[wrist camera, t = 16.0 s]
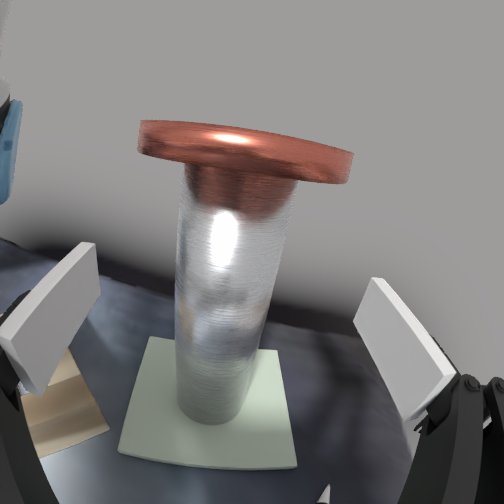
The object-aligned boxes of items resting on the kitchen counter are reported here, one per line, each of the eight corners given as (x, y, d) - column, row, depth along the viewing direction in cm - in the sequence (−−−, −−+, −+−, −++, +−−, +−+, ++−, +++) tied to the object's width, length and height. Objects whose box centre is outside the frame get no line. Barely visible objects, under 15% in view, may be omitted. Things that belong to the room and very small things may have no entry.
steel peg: (129, 385, 18) (110, 120, 10) (214, 342, 24) (244, 130, 16) (206, 471, 13) (258, 129, 5) (290, 402, 19) (379, 161, 11)
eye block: (-32, 362, 12) (-50, 330, 10) (59, 332, 21) (49, 299, 19) (-10, 472, 5) (-42, 447, 4) (110, 429, 14) (96, 401, 12)
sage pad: (119, 452, 12) (117, 449, 12) (150, 340, 23) (149, 336, 23) (294, 468, 14) (297, 465, 14) (275, 354, 25) (276, 350, 25)
